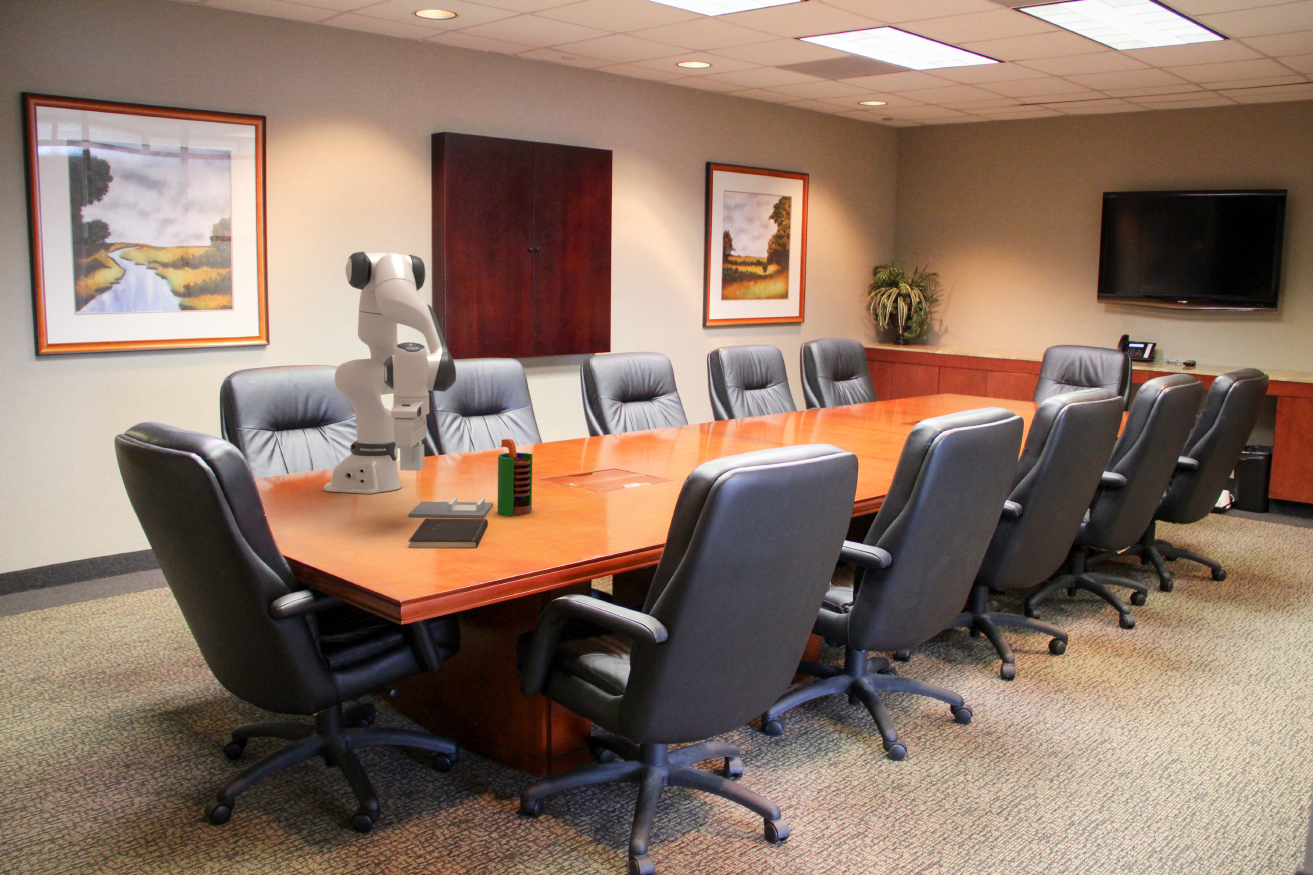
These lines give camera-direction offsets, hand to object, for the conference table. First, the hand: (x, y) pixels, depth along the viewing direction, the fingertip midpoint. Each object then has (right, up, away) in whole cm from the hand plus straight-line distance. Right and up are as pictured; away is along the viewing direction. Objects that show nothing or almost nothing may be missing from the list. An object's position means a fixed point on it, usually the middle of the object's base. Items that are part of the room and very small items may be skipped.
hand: (412, 460), depth 272 cm
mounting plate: (+7, -14, +17) cm, 23 cm away
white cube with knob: (0, -2, 0) cm, 2 cm away
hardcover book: (+12, -19, -10) cm, 25 cm away
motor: (+24, -15, +17) cm, 33 cm away
